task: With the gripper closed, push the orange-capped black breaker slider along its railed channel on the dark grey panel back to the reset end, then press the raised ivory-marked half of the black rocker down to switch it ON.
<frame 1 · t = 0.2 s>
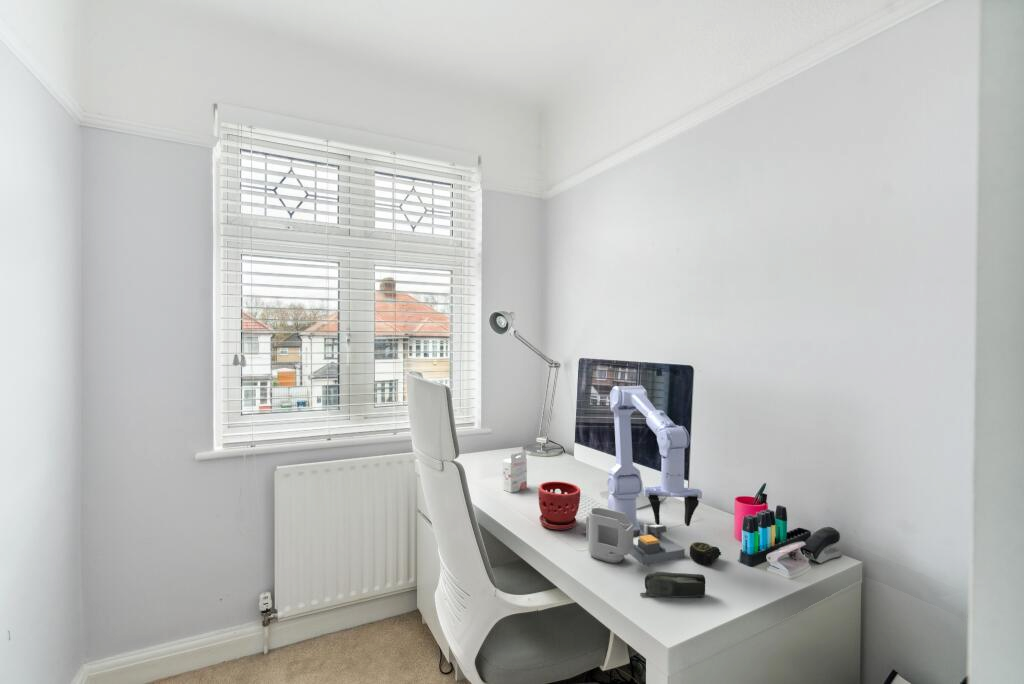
hand: (672, 524, 123), 10 cm above the table, fingers open, 7 cm apart
plant pot: (559, 525, 147), on the table
dark elongated piece: (672, 596, 107), on the table
on rocker: (652, 527, 135), point 4 cm above the table, hinge at 15.0°
tape measure: (706, 562, 124), on the table
grey piece: (611, 559, 124), on the table
ink cartridge box: (514, 489, 182), on the table
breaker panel: (644, 546, 132), on the table
breaker slider: (648, 544, 125), point 4 cm above the table, slide at 0.0 cm
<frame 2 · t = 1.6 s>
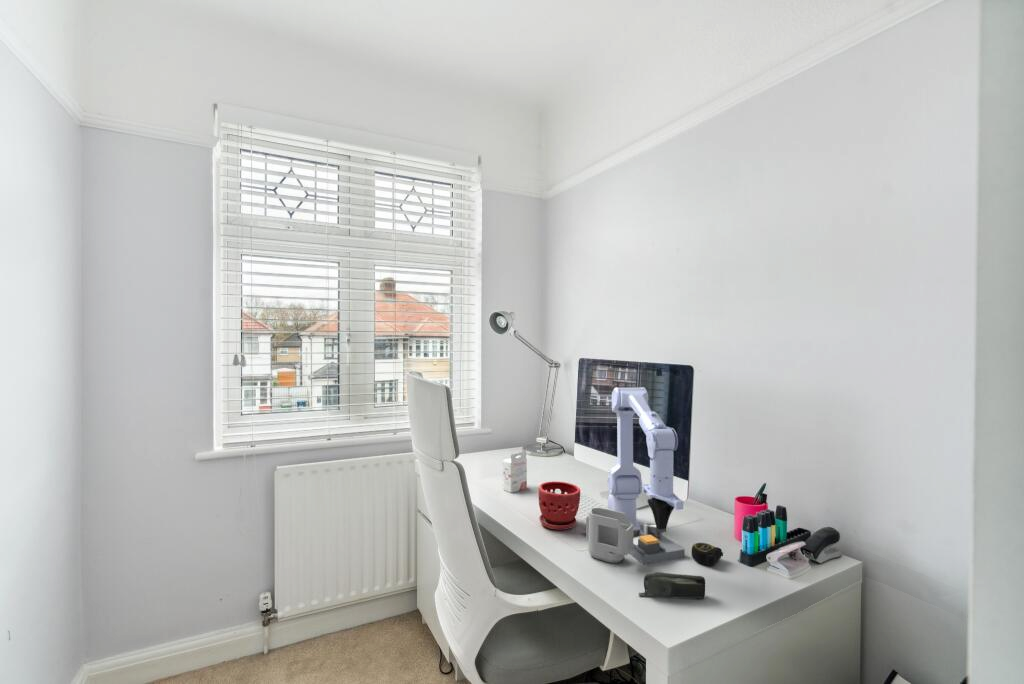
hand: (661, 528, 120), 10 cm above the table, fingers closed
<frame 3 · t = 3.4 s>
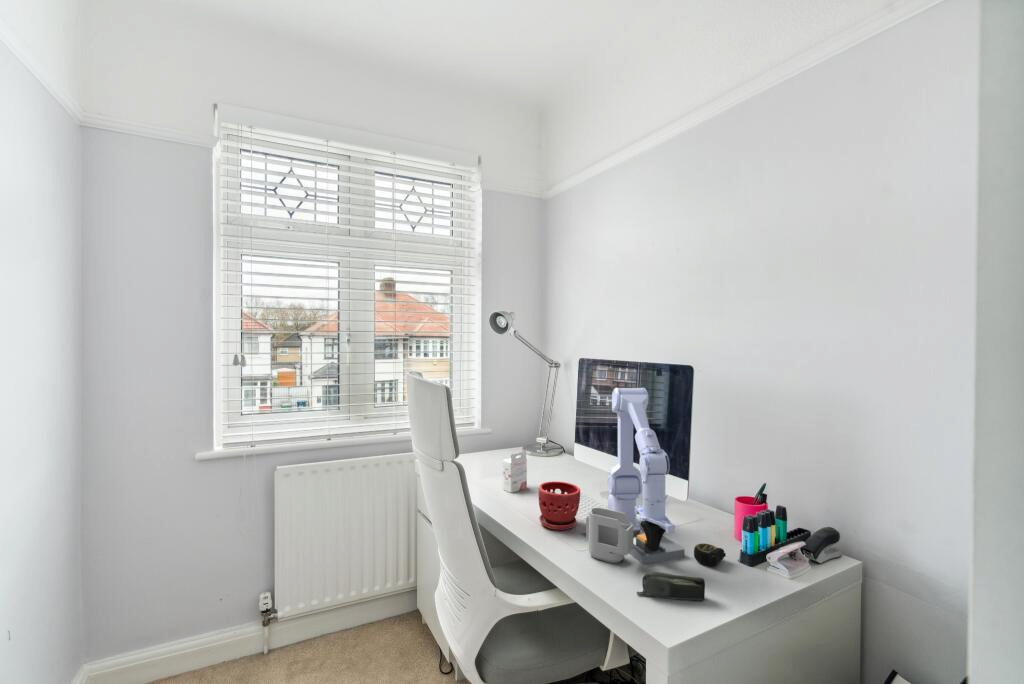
hand: (653, 549, 123), 3 cm above the table, fingers closed
breaker slider: (646, 542, 126), point 4 cm above the table, slide at 1.0 cm, touching gripper
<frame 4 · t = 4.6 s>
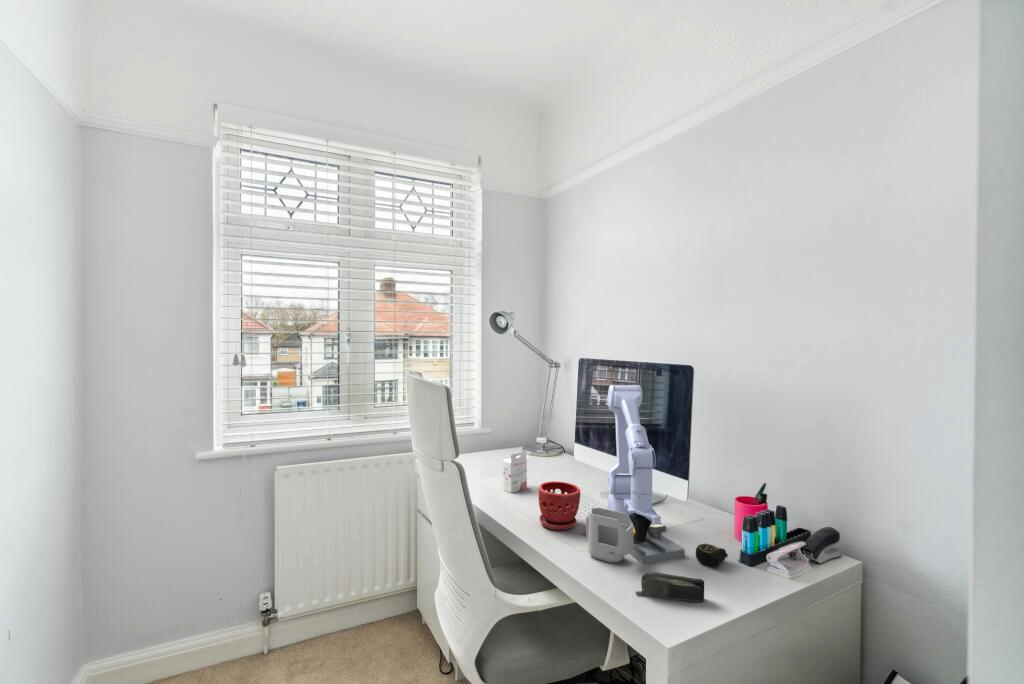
hand: (641, 540, 128), 3 cm above the table, fingers closed
breaker slider: (635, 534, 131), point 4 cm above the table, slide at 6.2 cm, touching gripper
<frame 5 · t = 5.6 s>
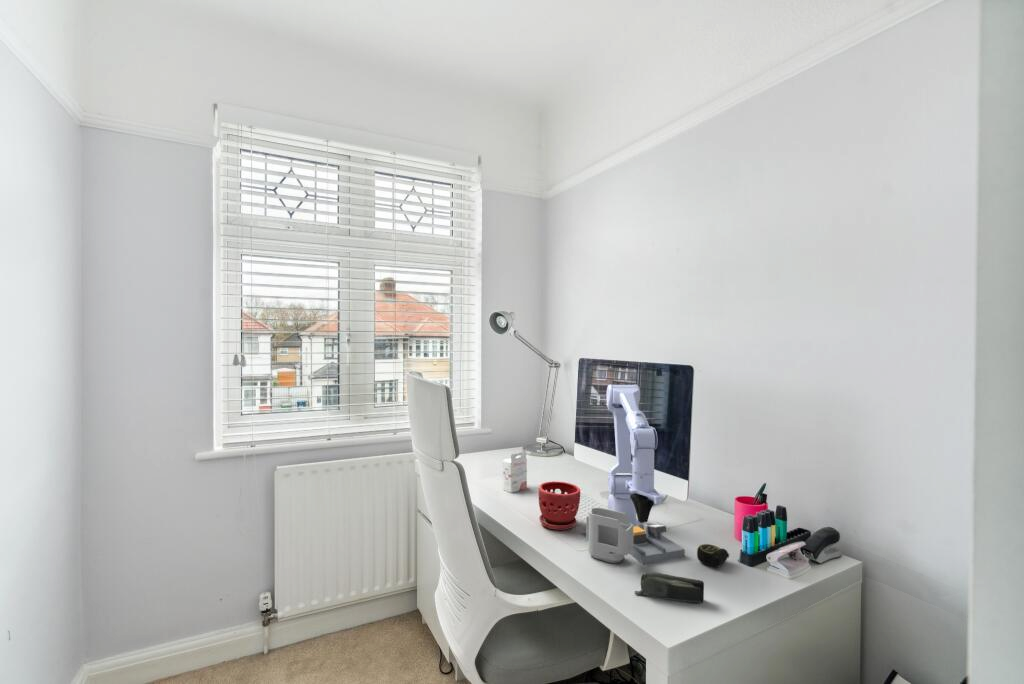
hand: (642, 521, 128), 9 cm above the table, fingers closed
breaker slider: (635, 535, 131), point 4 cm above the table, slide at 6.0 cm
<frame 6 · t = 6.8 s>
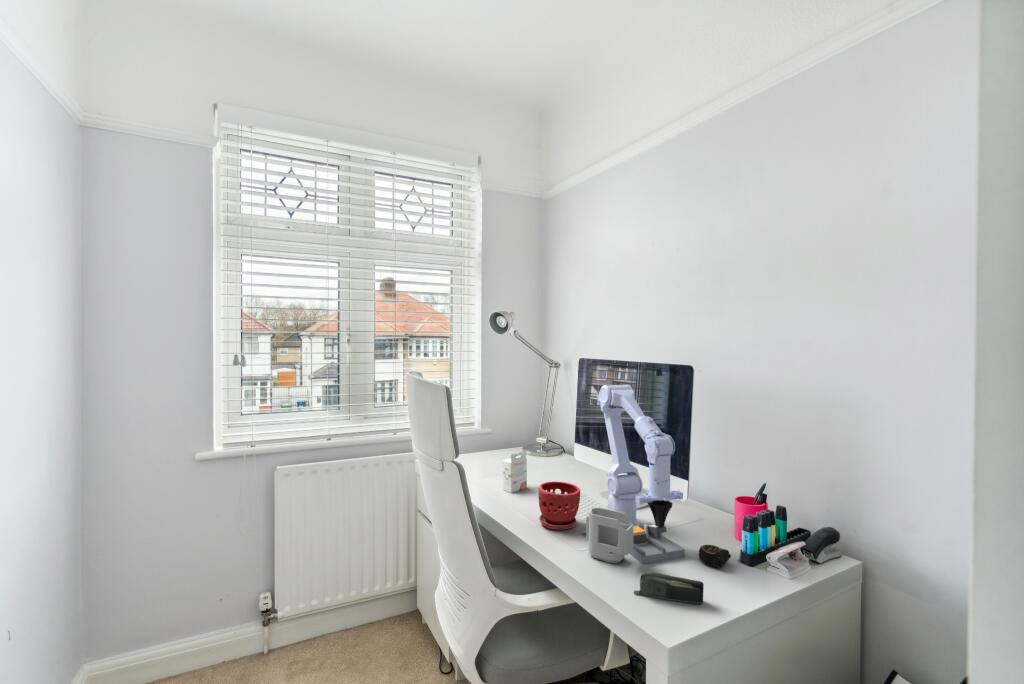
hand: (659, 526, 132), 6 cm above the table, fingers closed, pressing on on rocker
on rocker: (652, 527, 135), point 4 cm above the table, hinge at 14.8°, touching gripper
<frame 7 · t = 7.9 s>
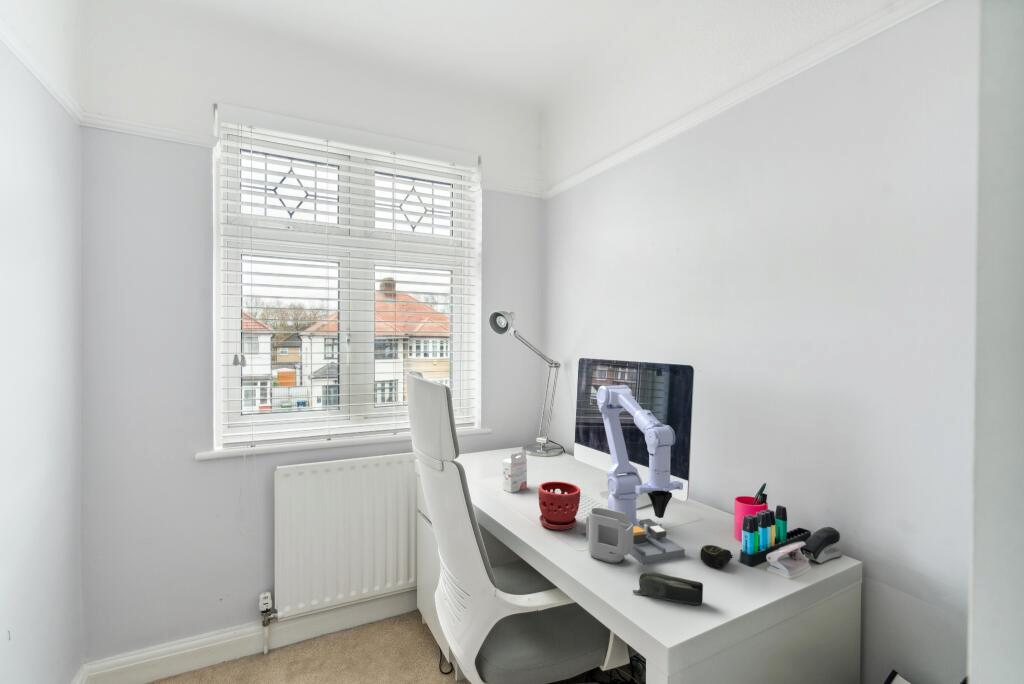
hand: (659, 516, 132), 8 cm above the table, fingers closed
on rocker: (652, 527, 135), point 4 cm above the table, hinge at -5.1°
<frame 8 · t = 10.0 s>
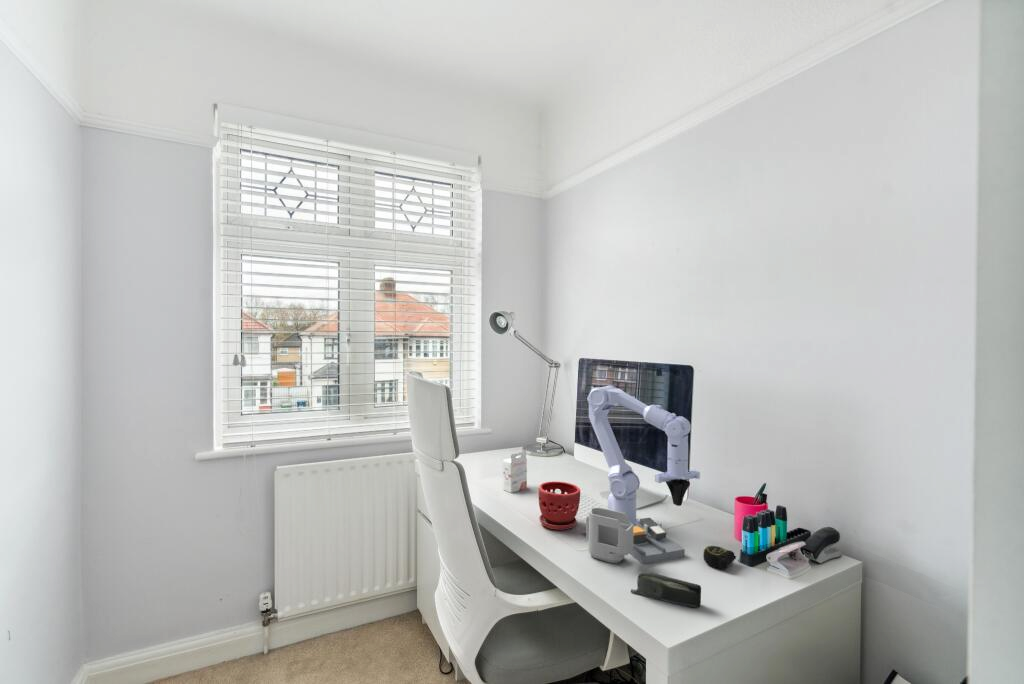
hand: (677, 504, 138), 10 cm above the table, fingers closed
on rocker: (652, 527, 135), point 4 cm above the table, hinge at -10.8°
at the end: breaker slider slide at 6.0 cm; on rocker at -11° (first picture: +15°) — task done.
